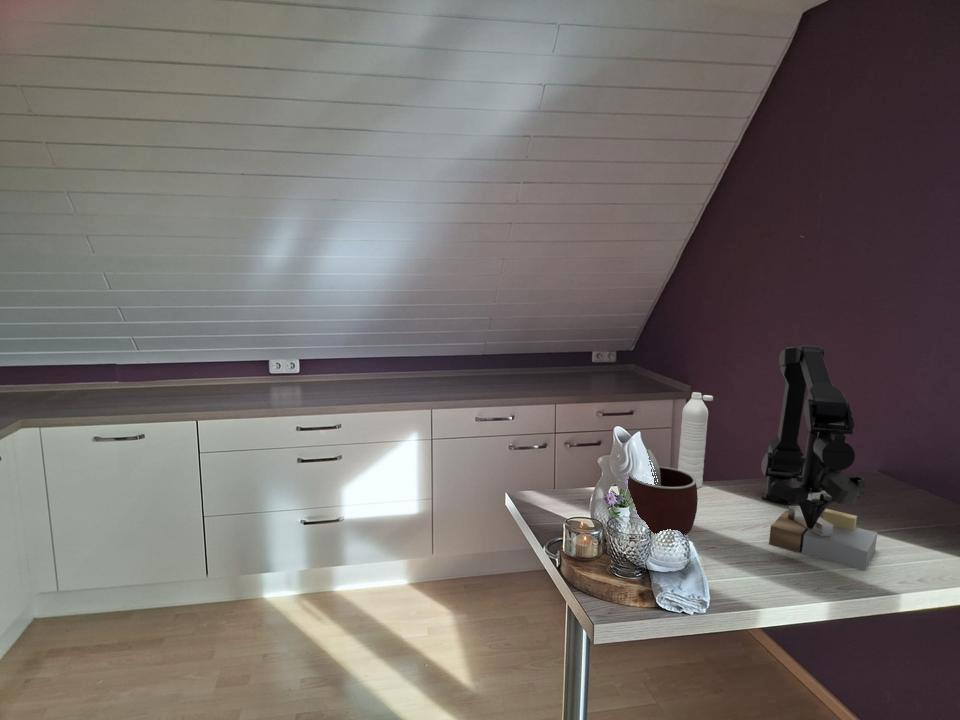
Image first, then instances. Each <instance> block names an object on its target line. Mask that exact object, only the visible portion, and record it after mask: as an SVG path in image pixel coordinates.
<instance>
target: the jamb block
mask: <svg viewBox="0 0 960 720" xmlns="http://www.w3.org/2000/svg"><path fill="white" fill-rule="evenodd" d="M807 530H808V528H806V527H805V526H803V525H801V524H799V523H798V522H796V521H794V520H791V519H789V518H788V510H787V509H786V510H784V511H783V512H782V513H781V515H779V516H778V518H777V519H776V520H775V521H774V522H773V523H772V524H771V525H770V529H769V541H768V545H771V546H775V547H778V548H780V549H781V548H782V549H786V550H789V551H792V552H796V553H800V552H802V547H803V538H804V534H805V533H806V532H807Z"/></svg>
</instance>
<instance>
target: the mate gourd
mask: <svg viewBox="0 0 960 720" xmlns="http://www.w3.org/2000/svg"><path fill="white" fill-rule="evenodd" d="M646 453H647V460H648V459H649V460H651V461H649V462H650V465H651V467H652V464H651V462H652V463H653V466H654V469H655V470H654V469H653V467H652V469H653V472H654V475H653V473H652V476H653V477H654V476H655V478H654V484H655V485H652V484H648V483H644V482H642V481H639V480H637V479H636V478H634V477H633V475H632V473H628V477H629V479H628V478H627V480H628V489H629V491H630V494H631V497H632V499H633V502H634V504H635V507H636V510H637V514H638V515H639V517H640V518H641V519H642V520H644V521H645V522H646V524H647V525H648V527H649V529H650V530H651V531H652V532H653V533H654V534H655V533H656V534H657V533H659V532H660V531H663V530H667V529H671V530H678V531H680V532H681V533H682V534H683V535H684V534H685V535H686V536H687V535H688V534H689V533H690V532H692V529H693V526H694V524H695V519H696V515H697V511H698V500H699V497H698V488H697V486H696V478H695V477H694V476H692V475H691V474H689V473H687V472H684V471H681V470H678V468H672V467H669V466H659V463H658V461H657V459H656V457H655V455H654V454H653V452H652V450H651V449H646ZM648 456H649V458H648ZM652 469H651V472H652ZM655 472H656V473H655ZM655 474H656V475H655ZM656 476H657V478H656ZM657 479H658V482H657ZM655 481H656V482H655ZM656 483H657V484H656Z"/></svg>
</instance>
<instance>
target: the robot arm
mask: <svg viewBox="0 0 960 720" xmlns="http://www.w3.org/2000/svg"><path fill="white" fill-rule="evenodd" d="M778 363H779V367H780V368H779V369H780V372H781V373H782V376H783V378H784V379H785V385H784V392H783V397H782V398H783V399H782V404H781V412H780V419H779V426H778V431H777V436H776V437H774V439H773V440H771V442H770V443H769V445H768V449H767V452H765V454H764V456H763V459H762V461H761V472H762V475H763V476H764V477H767V483H766V491H765V492H764V494H762V495H761V499H763V500H768V501H772V502H776V503H780V504H783V505H790V504H791V503H792V504H798V506H800V508H801V511H802V514H803V516H804V519H805V522H806V525H807V528H809V529H813V527H814V525H815V524H816V522H817V520H818V518H819V517H820V518H821V515H822V514H823V513H824V511H825V509H826V507H828V506H829V505H832V504H833V503H836V504H840V505H843V504H845V503H846V504H847V503H850V504H854V503H855V501H856V499H857V498H860V496H864V494H865V493H864V490H865V489H866V488H865V487H866V479H865V478H863V477H862V476H861V475H854V476H851V477H850V475H844V474H843V473H842V471H844V470H847V469H848V468H850V467H851V466H852V465H853V463H854V461H855V458H856V455H855V451H854V448H853V447H852V445H850V444H849V443H848V442H847V441H846V435H853V433H854V432H853V430H854V427H855V423H854V422H855V421H854V416H853V411H852V408H851V405H850V403H849V402H848V401H847V398H846V397H845V394H844V392H843V391H842V390H841V389H839V388H837V387H836V386H834V385H833V382H832V379H831V377H830V373H829V369H828V367H827V364H826V361H825V350H824V347H821V346H818V345H800V346H797V347H791V346H787V347H786V348H785V349H782V350H781V351H780V353H779V356H778ZM806 390H807V393H808V395H807V398H805V396H806ZM802 415H804V419H805V423H806V428H807V430H808V433H807V441H806V447H805V454H803V451H802V449H801V447H800V445H799V443H798V441H799V434H800V429H801V421H802ZM842 424H843V425H842ZM793 479H794V480H795V479H796V481H797V482H800V483H801V484H799V483H797V482H795V481H793Z"/></svg>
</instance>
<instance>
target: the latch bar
mask: <svg viewBox="0 0 960 720" xmlns="http://www.w3.org/2000/svg"><path fill="white" fill-rule="evenodd" d="M787 509H788V510H787V511H788V518H789V519H791V520H794V521H796V522H798V523H799V524H801V525H803V526H805V527H806V528H807V525H806V522H805V519H804V516H803V514H802V511H801V508H800V506H799V505H789V506H788V508H787ZM808 529H809V528H808ZM810 530H811V531H813V532H815V533H816V534H818V535H820V536H821V537H825V536H832V531H833V525H832V524H831V523H829V522H827V521H825V520H823V517H821V516H820V517H819V518H818V520H817V522H816V524H815V525H814V527H813V529H810Z"/></svg>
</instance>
